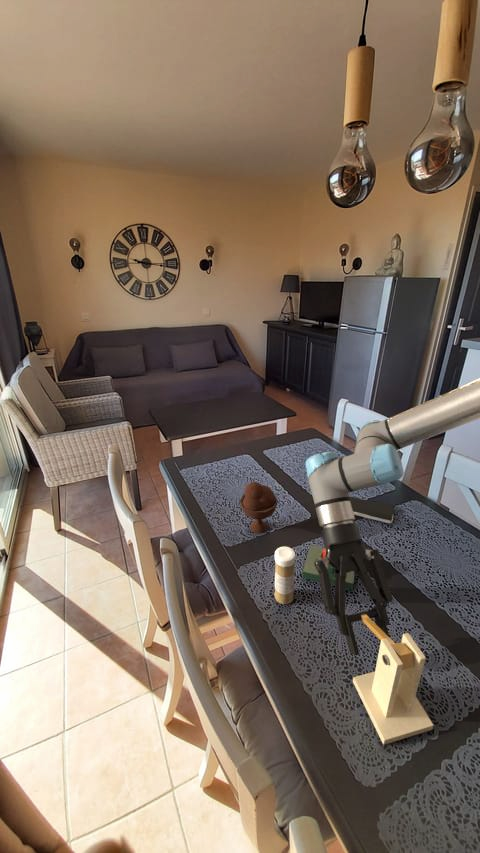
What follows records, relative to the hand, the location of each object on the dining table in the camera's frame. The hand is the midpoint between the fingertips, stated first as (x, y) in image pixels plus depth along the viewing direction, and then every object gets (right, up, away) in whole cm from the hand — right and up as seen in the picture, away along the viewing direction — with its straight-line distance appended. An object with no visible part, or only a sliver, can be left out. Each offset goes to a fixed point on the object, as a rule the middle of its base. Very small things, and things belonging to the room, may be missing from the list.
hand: (370, 649), depth 68 cm
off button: (-2, +9, +22) cm, 24 cm away
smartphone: (+15, +16, +45) cm, 50 cm away
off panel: (-2, +6, +24) cm, 24 cm away
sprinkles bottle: (-14, +2, +16) cm, 22 cm away
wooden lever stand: (+2, -7, -5) cm, 8 cm away
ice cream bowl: (-19, +12, +39) cm, 45 cm away
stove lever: (0, +4, -4) cm, 6 cm away
